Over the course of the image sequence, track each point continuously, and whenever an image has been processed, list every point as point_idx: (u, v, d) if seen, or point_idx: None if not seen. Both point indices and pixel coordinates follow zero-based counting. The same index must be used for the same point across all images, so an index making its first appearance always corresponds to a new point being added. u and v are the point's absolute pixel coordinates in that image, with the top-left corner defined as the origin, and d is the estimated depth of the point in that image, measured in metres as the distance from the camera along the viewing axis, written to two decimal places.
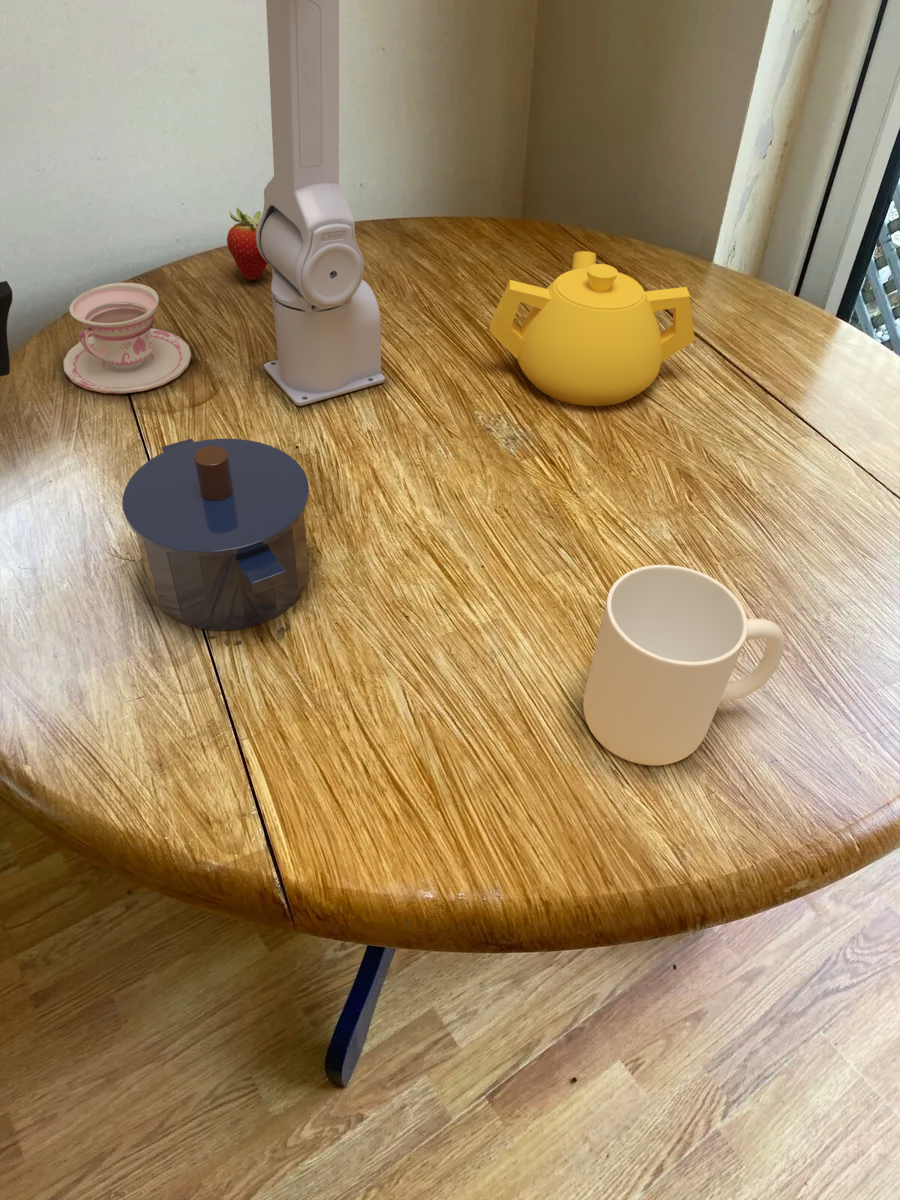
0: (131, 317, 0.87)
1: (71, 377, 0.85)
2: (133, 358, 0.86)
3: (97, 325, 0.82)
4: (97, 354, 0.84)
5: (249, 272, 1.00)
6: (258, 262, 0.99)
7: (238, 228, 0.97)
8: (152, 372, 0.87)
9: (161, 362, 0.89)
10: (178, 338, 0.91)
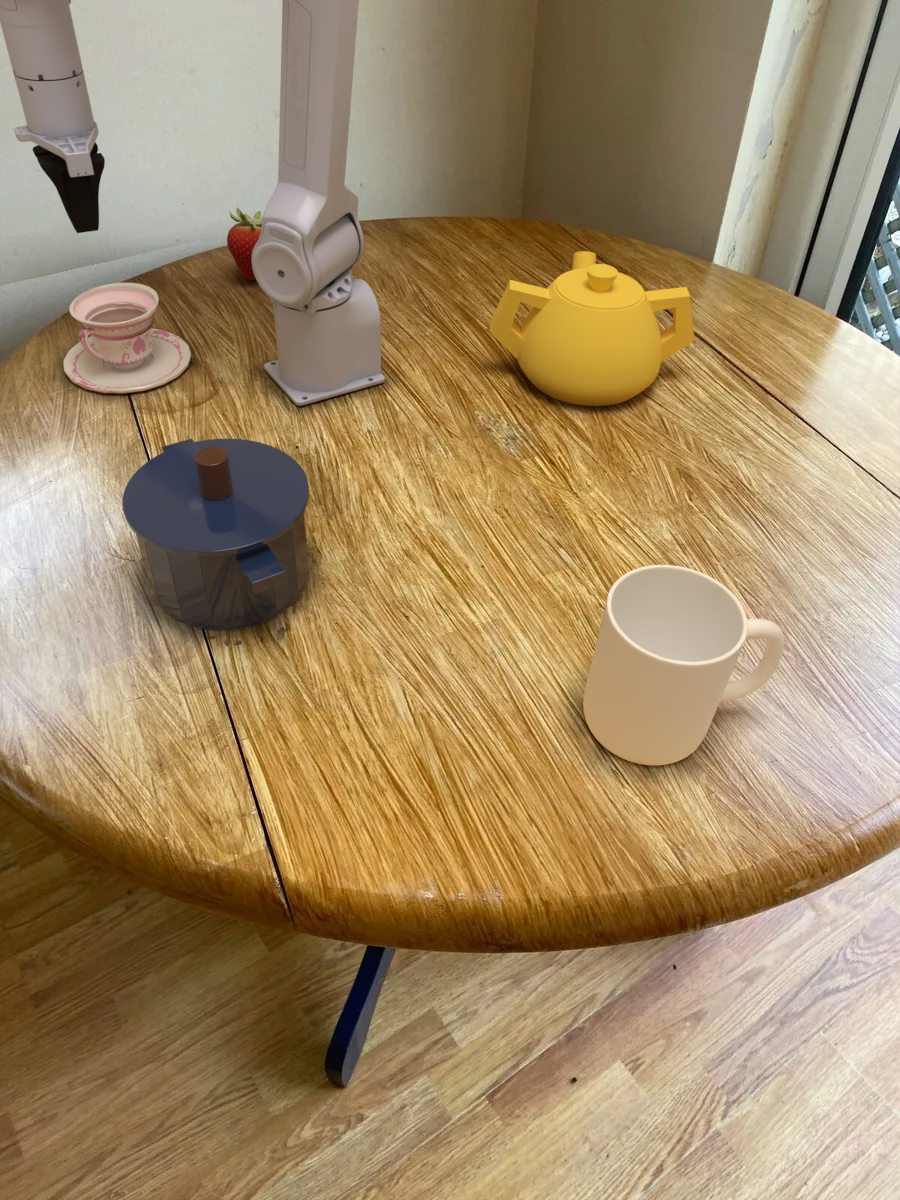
0: (131, 317, 0.87)
1: (71, 377, 0.85)
2: (133, 357, 0.86)
3: (97, 325, 0.82)
4: (97, 354, 0.84)
5: (249, 272, 1.00)
6: None
7: (238, 228, 0.97)
8: (152, 372, 0.87)
9: (161, 362, 0.89)
10: (178, 338, 0.91)
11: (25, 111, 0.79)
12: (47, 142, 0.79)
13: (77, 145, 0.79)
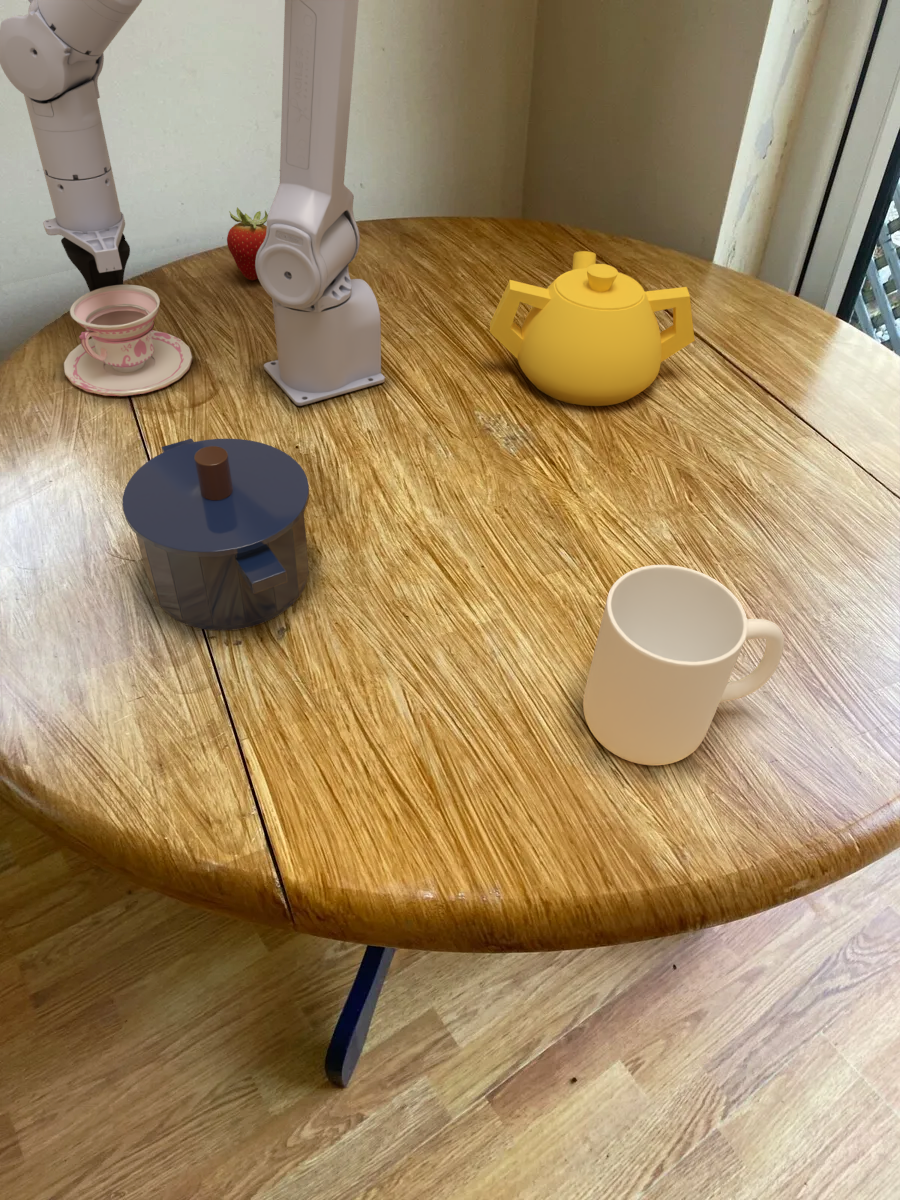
0: (132, 319, 0.87)
1: (71, 379, 0.85)
2: (134, 360, 0.86)
3: (98, 327, 0.82)
4: (98, 356, 0.84)
5: (249, 272, 1.00)
6: None
7: (238, 228, 0.97)
8: (153, 374, 0.87)
9: (162, 365, 0.88)
10: (179, 340, 0.91)
11: (54, 207, 0.81)
12: (76, 237, 0.81)
13: (105, 240, 0.81)
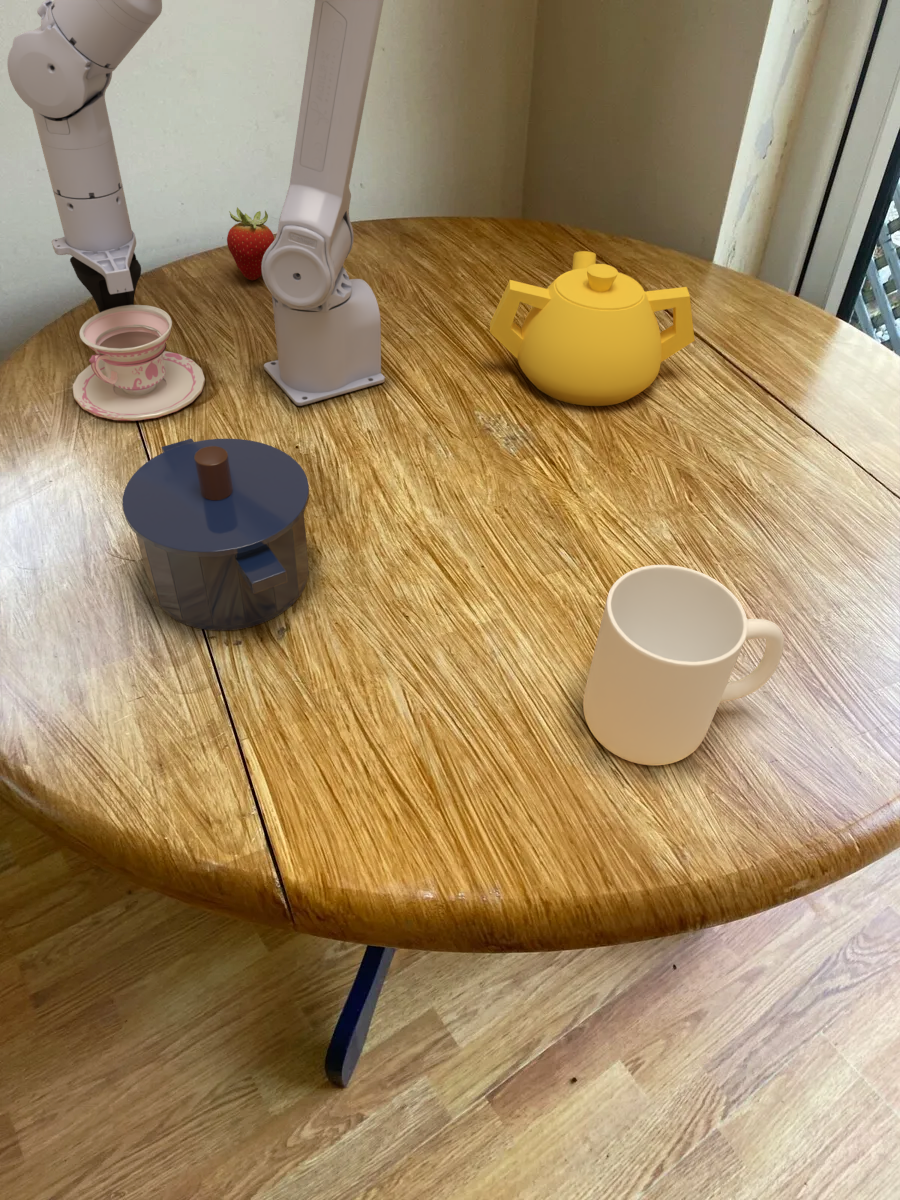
0: (143, 341, 0.84)
1: (81, 403, 0.82)
2: (145, 383, 0.83)
3: (108, 350, 0.79)
4: (108, 380, 0.81)
5: (249, 272, 1.00)
6: (258, 262, 0.99)
7: (238, 228, 0.97)
8: (164, 397, 0.84)
9: (174, 387, 0.86)
10: (191, 361, 0.88)
11: (64, 226, 0.78)
12: (86, 258, 0.78)
13: (116, 260, 0.78)
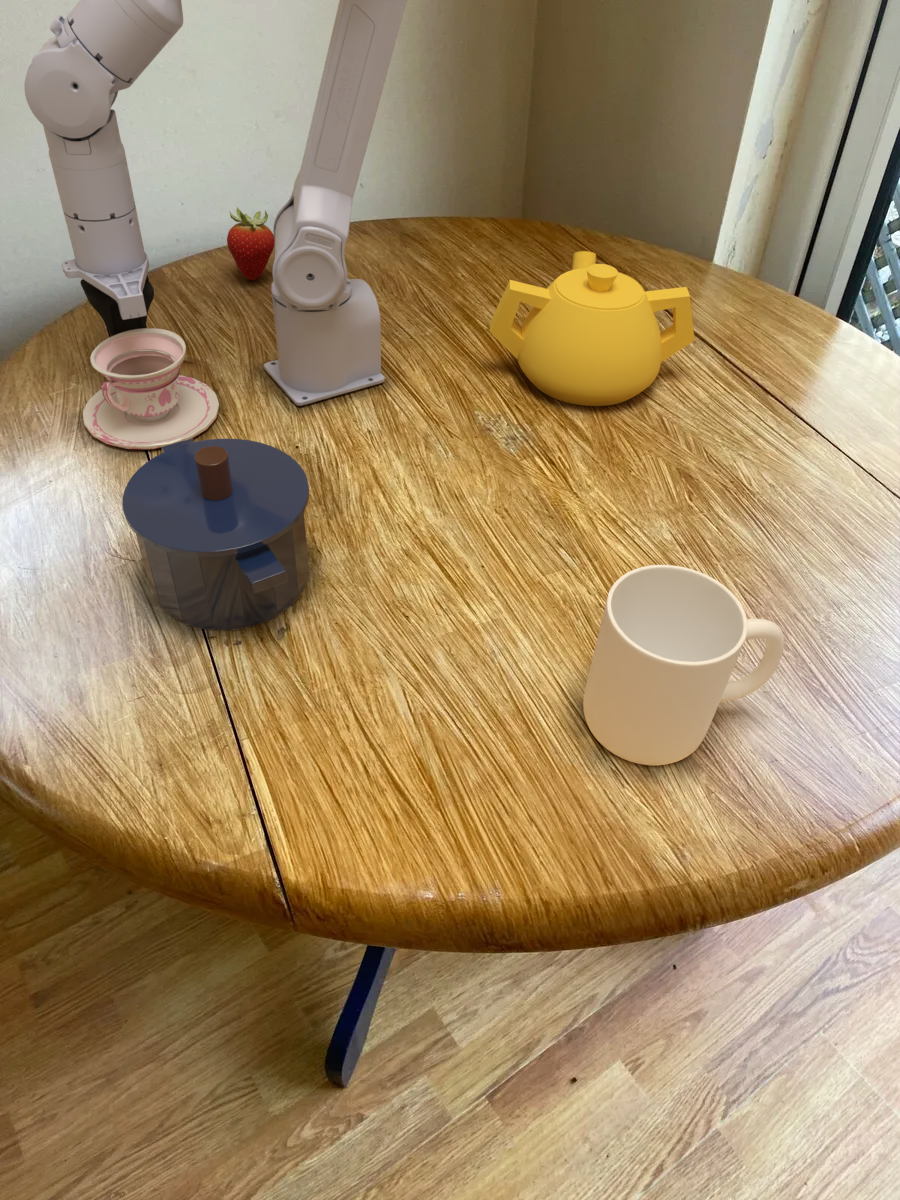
0: (156, 366, 0.81)
1: (91, 431, 0.79)
2: (158, 410, 0.80)
3: (121, 377, 0.76)
4: (120, 407, 0.78)
5: (249, 272, 1.00)
6: (258, 262, 0.99)
7: (238, 228, 0.97)
8: (178, 424, 0.81)
9: (187, 413, 0.83)
10: (205, 385, 0.85)
11: (74, 248, 0.75)
12: (98, 281, 0.75)
13: (129, 284, 0.75)
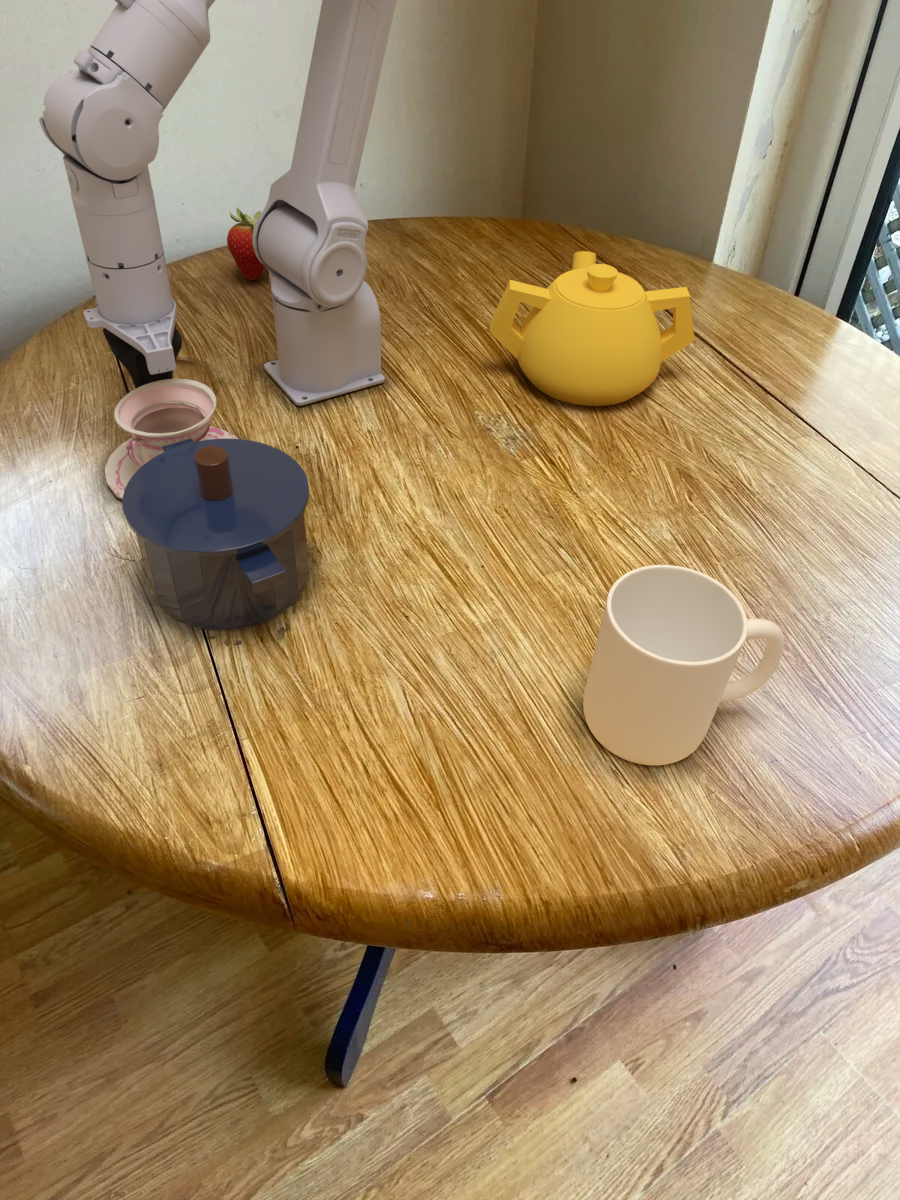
0: (183, 419, 0.75)
1: (115, 491, 0.74)
2: None
3: (148, 436, 0.70)
4: None
5: (249, 272, 1.00)
6: (258, 262, 0.99)
7: (238, 228, 0.97)
8: None
9: None
10: (234, 437, 0.80)
11: (98, 296, 0.70)
12: (123, 333, 0.69)
13: (157, 336, 0.70)
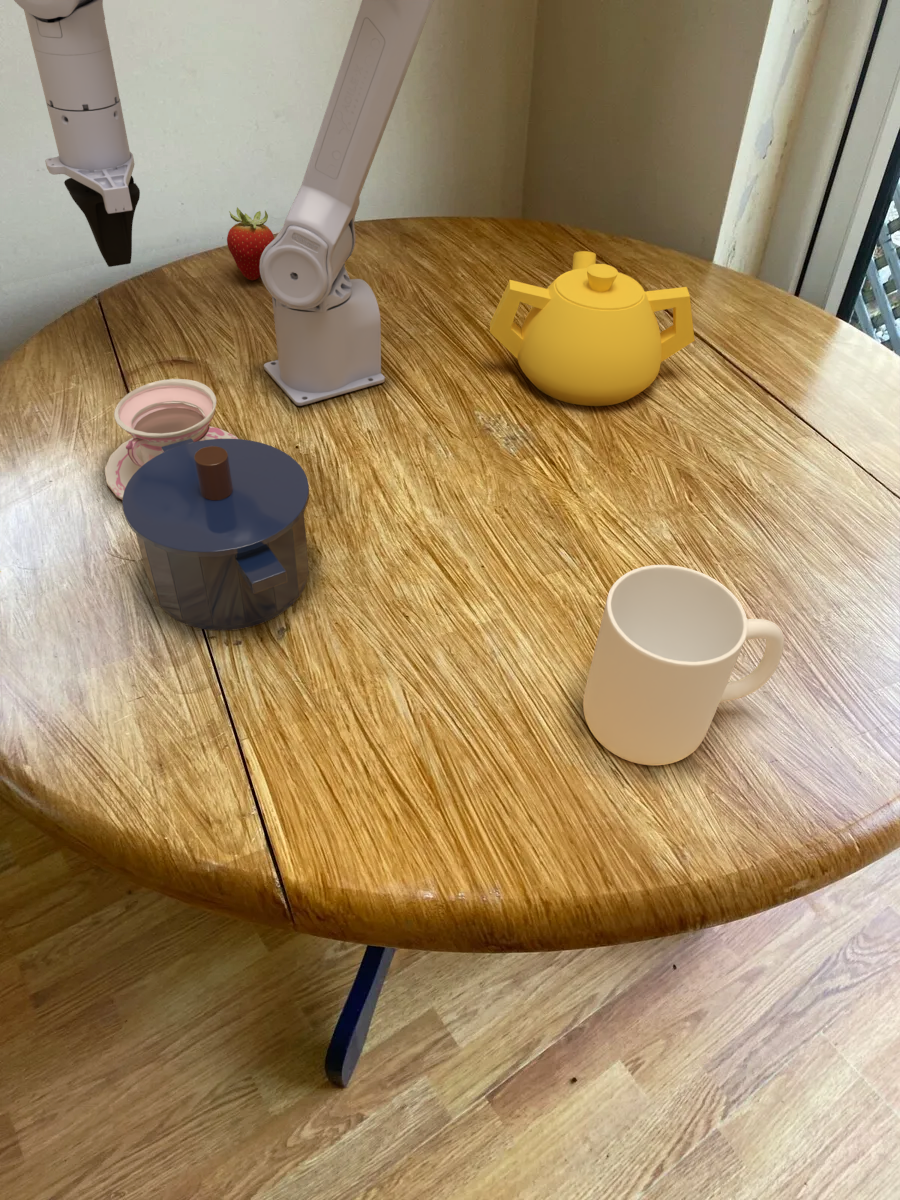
0: (183, 419, 0.75)
1: (115, 491, 0.74)
2: None
3: (147, 436, 0.70)
4: None
5: (249, 272, 1.00)
6: (258, 262, 0.99)
7: (238, 228, 0.97)
8: None
9: None
10: (234, 438, 0.80)
11: (58, 142, 0.74)
12: (82, 176, 0.74)
13: (114, 179, 0.74)
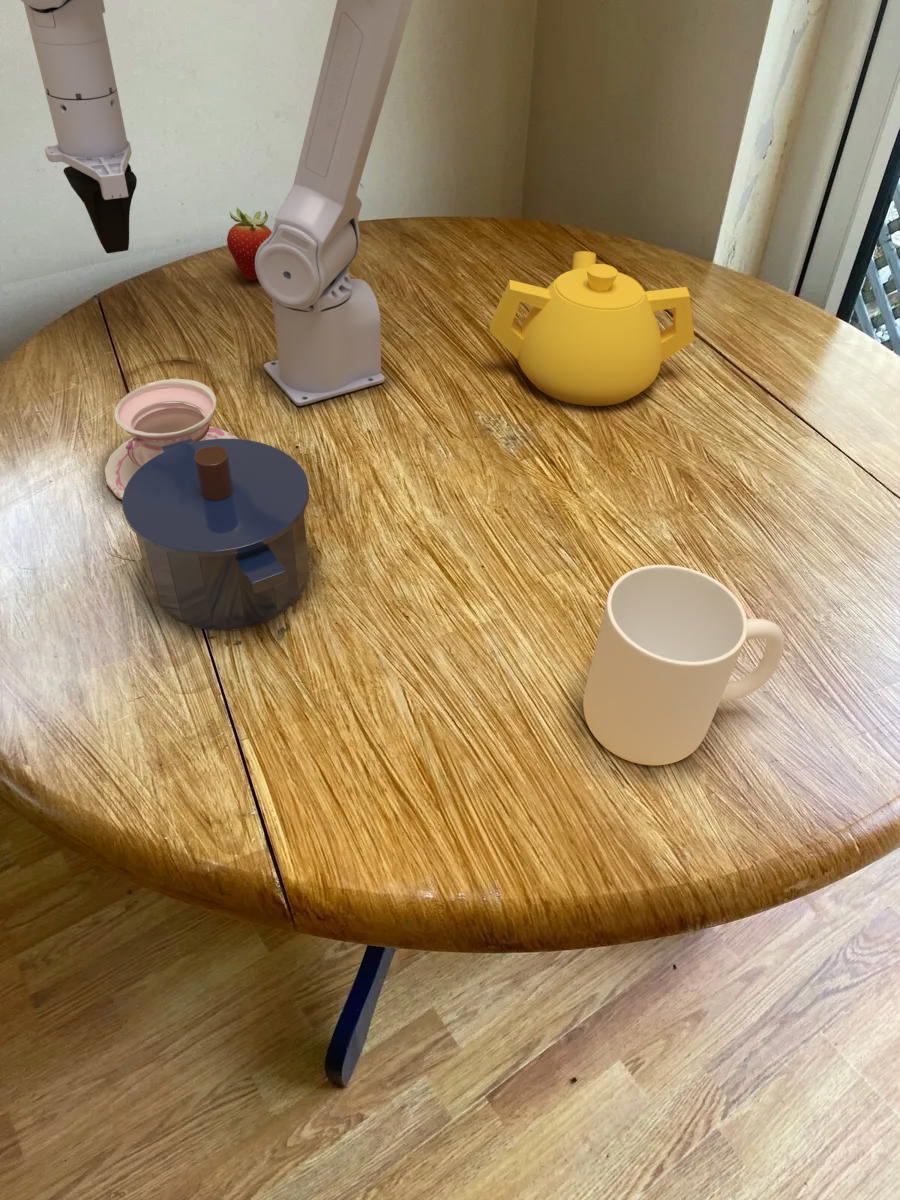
0: (183, 419, 0.75)
1: (115, 491, 0.74)
2: None
3: (147, 436, 0.70)
4: None
5: (249, 272, 1.00)
6: None
7: (238, 228, 0.97)
8: None
9: None
10: (234, 438, 0.80)
11: (57, 131, 0.76)
12: (80, 163, 0.76)
13: (111, 166, 0.76)
